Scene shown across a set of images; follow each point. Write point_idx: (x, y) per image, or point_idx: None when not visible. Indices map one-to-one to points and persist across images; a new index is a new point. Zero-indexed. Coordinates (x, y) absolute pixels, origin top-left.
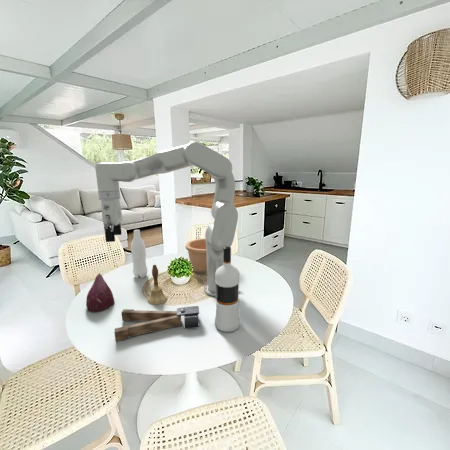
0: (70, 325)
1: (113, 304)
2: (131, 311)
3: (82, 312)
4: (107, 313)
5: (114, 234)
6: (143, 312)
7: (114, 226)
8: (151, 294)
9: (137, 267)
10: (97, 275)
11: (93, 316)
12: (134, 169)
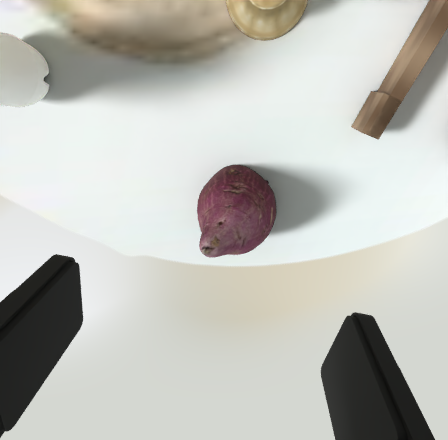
0: (314, 259)
1: (246, 167)
2: (394, 103)
3: None
4: (294, 180)
5: (80, 319)
6: (430, 53)
7: (7, 413)
8: (277, 13)
9: (17, 83)
10: (211, 255)
11: (294, 215)
12: None
